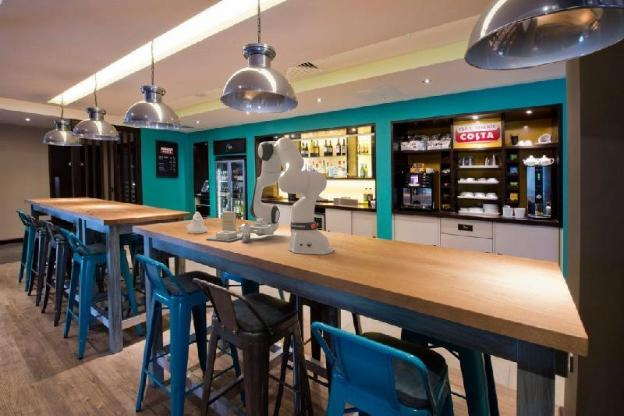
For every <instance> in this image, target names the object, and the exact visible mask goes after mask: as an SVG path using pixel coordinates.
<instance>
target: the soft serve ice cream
mask: <svg viewBox="0 0 624 416" xmlns="http://www.w3.org/2000/svg"><path fill="white" fill-rule="evenodd" d="M186 229H187V231H188V233H189V234H204V233H206V232H208V228H207V226H206V225H205V222H204V217H202V214H201V213H200V212H199V211H195V213H194V214H193V215H192V219H191V221H190V223H188V224H186Z"/></svg>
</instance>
